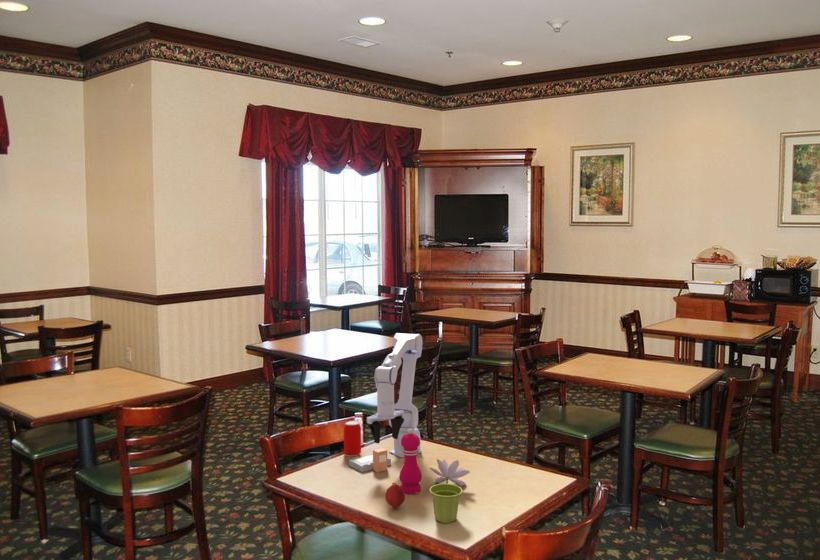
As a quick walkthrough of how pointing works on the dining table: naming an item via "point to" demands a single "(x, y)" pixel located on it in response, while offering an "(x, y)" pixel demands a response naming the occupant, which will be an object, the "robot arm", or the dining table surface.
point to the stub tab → (380, 460)
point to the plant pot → (445, 501)
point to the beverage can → (352, 438)
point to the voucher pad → (365, 463)
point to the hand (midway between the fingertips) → (386, 440)
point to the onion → (395, 495)
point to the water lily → (449, 472)
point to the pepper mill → (410, 464)
